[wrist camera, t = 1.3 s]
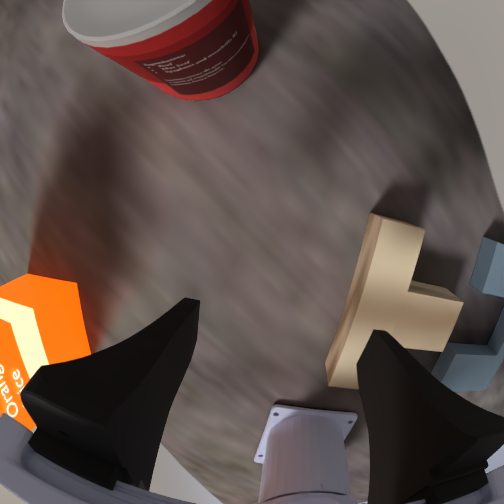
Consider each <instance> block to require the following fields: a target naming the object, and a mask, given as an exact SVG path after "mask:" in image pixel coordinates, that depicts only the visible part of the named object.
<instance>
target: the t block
mask: <svg viewBox="0 0 504 504" xmlns="http://www.w3.org/2000/svg"><path fill="white" fill-rule="evenodd" d="M424 234H425V230H424V229H422V228H420V227H417V226H415V225H412V224H410V223H407V222H404V221H400V220H396V219H392V218H389V217H385V216H381V215H377V214H373V213H370V214H369V219H368V223H367V227H366V231H365V236H364V240H363V244H362V248H361V251H360V255H359V259H358V263H357V266H356V270H355V273H354V277H353V280H352V284H351V287H350V291H349V294H348V297H347V301H346V304H345V307H344V310H343V313H342V316H341V319H340V322H339V325H338V328H337V331H336V334H335V337H334V340H333V343H332V346H331V348H330V351H329V354H328V357H327V359H326V362H325V366H326V373H327V380H328V386H333V387H341V388H349V389H359V386H358V379H357V367H356V364H357V362H358V360H359V358H360V356H361V354H362V352H363V350H364V348H365V346H366V344H367V342H368V340H369V338H370V336H371V334H372V331H373V329H376V330H385V331H387V332H388V333H389V334H390V335H392V336H393V337H394V338H395V339H396V340H397V341H398V342H399V343H400V344H401V345H402V346H403V347H404V348H410V349H419V350H428V351H439V352H443V350H444V348H445V346H446V343H447V341H448V339H449V337H450V335H451V332H452V330H453V328H454V325H455V323H456V321H457V318H458V316H459V313H460V311H461V308H462V306H463V303H464V302H462V301H461V300H460V299H459V298H458V297H456V296H455V295H454V294H453V293H451V292H450V291H449V290H448V289H446V288H444V287H439V286H435V285H430V284H425V283H421V282H416V281H411V279H412V276H413V273H414V270H415V266H416V263H417V259H418V256H419V252H420V249H421V245H422V241H423V237H424Z"/></svg>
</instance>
